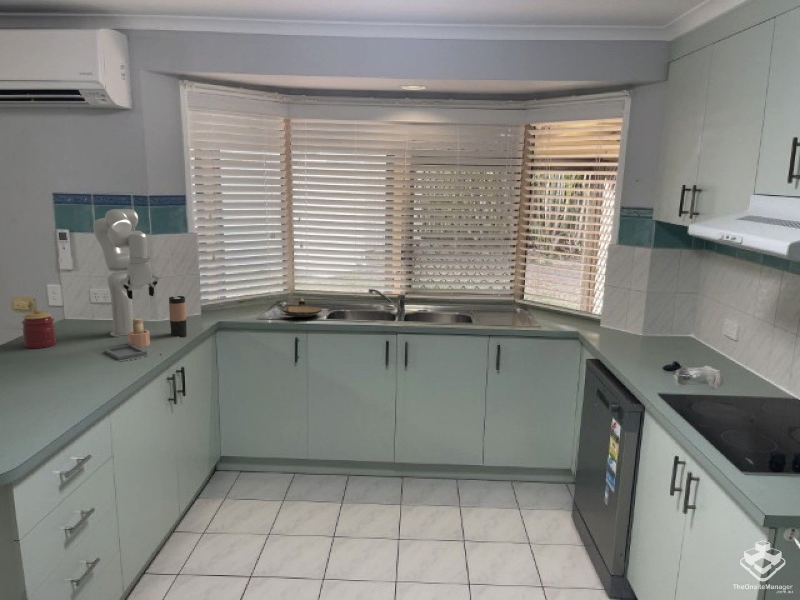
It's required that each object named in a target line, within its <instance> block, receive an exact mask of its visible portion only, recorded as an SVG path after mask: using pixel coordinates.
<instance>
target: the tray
mask: <svg viewBox="0 0 800 600" xmlns="http://www.w3.org/2000/svg"><path fill="white" fill-rule="evenodd" d="M103 351H104V352H103V353H105V354H106V355H109V356H110V357H112V358H114V359H115V360H117V361H120V363H123V361H125V362H128V360H130V361H133V360H132V359H135V360H138V359H137V358H139V359H142V358H141V357H144V358H147V357H148V356H147V355H148V353H147V352H148V351H146V350H144V349H143V348H142V347H136V346H134V345H132V344H125V345H120V346H115V347H110V348H109V347H108V348H104V349H103Z"/></svg>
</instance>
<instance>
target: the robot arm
mask: <svg viewBox="0 0 800 600" xmlns="http://www.w3.org/2000/svg"><path fill="white" fill-rule="evenodd" d="M138 223H139V215H138V213H137V212H136V211H135V210H134V209H132V208H131V209H130V208H114V209H109V210H108V211H107V212H105V215H104V217H102V218H98V219H96V220H94V221H93V225H92V227H93V233H94V236H95V238H96V240H97V242H98V243H99V245H100V246H101V249H102V252H103V256H104V261H105V264H106V268H107V270H108V271H110V272H112V273H111V274H109V275H108V277H107V285H108V289H109V295H110V303H111V313H112V315H111V316H112V326H113V328H112V329H113V330H112V331H110V336H111V337H115V338H116V337H117V338H120V337H126V336H127V337H128V332H130V331H133V319H135V318H134V308H133V307H134V305H133V297H134V296H133V291H136V290H138V291H139V290H142V289H144V288H146V286H147V285H148V296H151V297H154V295H155V287H156V285H158V282H159V280H160V277H159V276H156V275H154V274H152V273H153V272H152V268H151V264H150V262H149V261H151V256H148V243H147V240H148V238H147V234H146V233H144V232H143V231H141V230H134V229H136V227H137V225H138ZM123 248H128V251H123Z"/></svg>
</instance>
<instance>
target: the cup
mask: <svg viewBox="0 0 800 600" xmlns="http://www.w3.org/2000/svg"><path fill="white" fill-rule="evenodd" d="M150 336H151V334H150V330H148V329H144V333H143V334H134V333H133V331H130V332H128V335H127V339H128V343H127V345H129V344H132V345H134V346H136V347H138V348H143V347H144V348H145V347H147V346H150V345H151V337H150Z"/></svg>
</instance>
